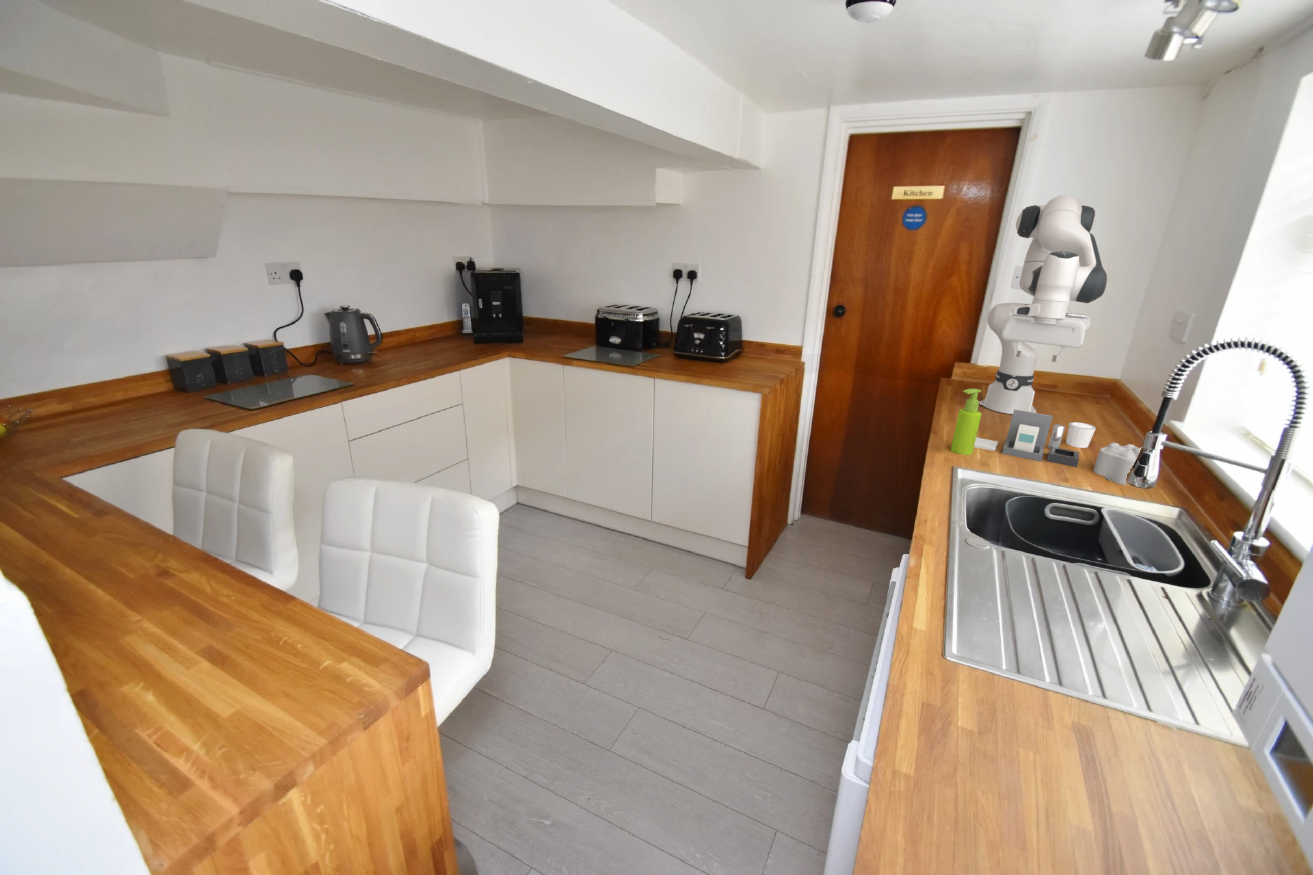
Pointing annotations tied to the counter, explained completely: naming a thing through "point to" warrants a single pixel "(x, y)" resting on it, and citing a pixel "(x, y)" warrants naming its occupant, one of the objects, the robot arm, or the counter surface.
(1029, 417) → the grey device stand
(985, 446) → the plate
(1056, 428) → the rod
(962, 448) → the soap dispenser
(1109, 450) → the lumpy-topped squat cylinder
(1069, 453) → the rod bracket
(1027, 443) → the block
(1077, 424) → the white faceted tapered cup
